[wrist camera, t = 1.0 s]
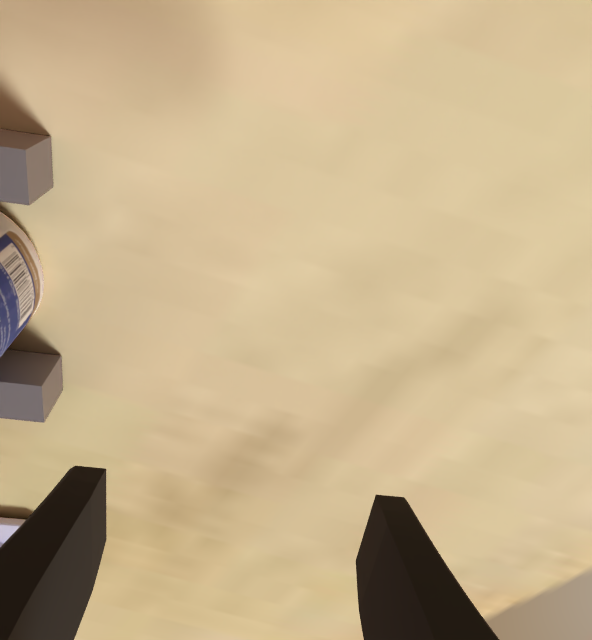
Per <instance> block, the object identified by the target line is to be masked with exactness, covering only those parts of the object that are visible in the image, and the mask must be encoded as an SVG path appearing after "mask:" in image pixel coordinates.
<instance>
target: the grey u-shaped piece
mask: <svg viewBox="0 0 592 640" xmlns="http://www.w3.org/2000/svg"><path fill="white" fill-rule="evenodd" d="M51 188H53V169H52V148H51V136H45V135H38V134H32V133H25V132H18V131H12V130H5V129H0V201H2V202H9V203H16V204H24V205H30V204H32V203H33V202H34V201H36V200H37V199H38V198H39V197H41V196H42V195H43V194H45V193H46V192H47V191H49V190H50V189H51ZM62 391H63V381H62V359H61V356H60V355H52V354H43V353H34V352H25V351H17V350H8V349H7V350H6V351H5V352H4V354H3V355H2V356H1V357H0V418H5V419H15V420H24V421H34V422H45V420H46V419H47V417H48V415H49V413H50V412H51V410H52V408H53V406H54V405H55V403H56V401H57V399H58V398H59V396H60V394H61V393H62Z"/></svg>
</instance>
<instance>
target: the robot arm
mask: <svg viewBox="0 0 592 640" xmlns="http://www.w3.org/2000/svg"><path fill="white" fill-rule="evenodd" d="M105 542H106V469H103V468H93V467H82V466H74V467H73V468H71V469H70V470H69V471H68V472H67V473H66V474H65V476H64V477H63V478H62V479H61V481H60V482H59V483H58V484H57V485H56V487H55V488H54V489H53V490H52V491H51V492H50V494H49V495H48V496H47V497H46V498H45V499H44V501H43V502H42V503H41V504H40V505H39V506H38V507H37V508H36V510H35V511H34V512H33V513H32V514H31V515H30V516H29V517H28V518H27V520H25V519H14V518H2V517H0V640H74V638H75V635H76V633H77V630H78V628H79V625H80V622H81V620H82V617H83V614H84V612H85V609H86V607H87V604H88V601H89V599H90V596H91V593H92V591H93V587H94V584H95V580H96V576H97V573H98V569H99V565H100V561H101V558H102V554H103V550H104V546H105ZM356 571H357V589H358V603H359V613H360V619H361V625H362V631H363V637H364V640H499V639H498V637H497V636H496V635H495V633H494V632H493V631H492V629H491V628H490V627H489V625H488V624H487V623H486V621H485V620H484V619H483V617H482V616H481V615H480V613H479V612H478V610H477V609H476V608H475V606H474V605H473V603H472V602H471V601H470V599H469V598H468V596H467V595H466V593H465V592H464V590H463V589H462V587H461V586H460V584H459V583H458V582H457V580H456V579H455V577H454V576H453V574H452V573H451V571H450V570H449V568H448V567H447V565H446V564H445V562H444V560H443V559H442V557H441V556H440V554H439V553H438V551H437V549H436V548H435V546H434V545H433V543H432V541H431V540H430V538H429V537H428V535H427V533H426V532H425V530H424V528H423V527H422V525H421V523H420V522H419V520H418V519H417V517H416V515H415V514H414V512H413V510H412V508H411V507H410V505H409V504H408V502H407V501H406V499H405V498H404V497H394V496H383V495H376V496H375V500H374V503H373V506H372V509H371V513H370V516H369V519H368V522H367V526H366V529H365V532H364V536H363V539H362V542H361V545H360V549H359V552H358V555H357V558H356Z"/></svg>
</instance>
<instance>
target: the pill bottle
mask: <svg viewBox="0 0 592 640" xmlns="http://www.w3.org/2000/svg"><path fill="white" fill-rule="evenodd" d="M43 290H44V275H43V269H42V265H41V262H40V259H39V257H38V254H37V252H36V250H35V248H34V246H33V244H32V242H31V241H30V240H29V238H28V237H27V235H26V234H25V233H24V232H23V231H22V230H21V229H20V228H19V227H18V226H17V225H16V224H15V223H14V222H13V221H12V220H11V219H10V218H8V217H7V216H6V215H4V214H3V213H2V212H0V357H1V356H2V355H3V354H4V352H5V351H6V350H7V348H8V347H9V346H10V345H11V343H12V342H13V341H14V339H15V338H16V337H17V336H18V335H19V333H20V332H21V331H22V330H23V328H24V327H25V326H26V324H27V323H28V322H29V321H30V319H31V317H32V316H33V315H34V313H35V312H36V310H37V309H38V307H39V305H40V302H41V299H42V296H43Z"/></svg>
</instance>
